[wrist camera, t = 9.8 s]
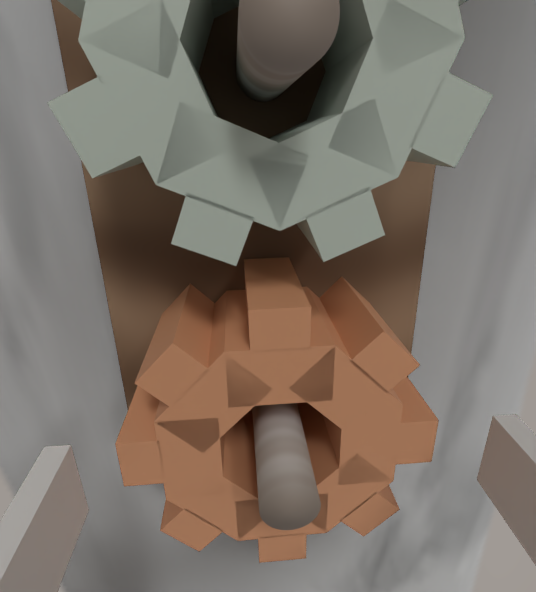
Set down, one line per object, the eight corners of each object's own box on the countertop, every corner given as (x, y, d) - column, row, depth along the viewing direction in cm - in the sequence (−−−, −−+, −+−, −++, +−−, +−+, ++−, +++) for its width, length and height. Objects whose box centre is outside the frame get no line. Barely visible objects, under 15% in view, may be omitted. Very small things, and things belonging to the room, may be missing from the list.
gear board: (62, -52, 13) (-217, -359, 5) (436, -49, 14) (721, -308, 6) (144, 425, 21) (86, 617, 13) (386, 408, 22) (480, 577, 13)
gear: (30, -34, 12) (-99, -141, 7) (358, -213, 11) (448, -463, 6) (195, 270, 16) (180, 325, 11) (447, 156, 15) (542, 165, 10)
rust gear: (131, 264, 16) (88, 318, 11) (395, 252, 16) (459, 298, 12) (163, 470, 20) (142, 573, 15) (374, 453, 20) (416, 547, 16)
